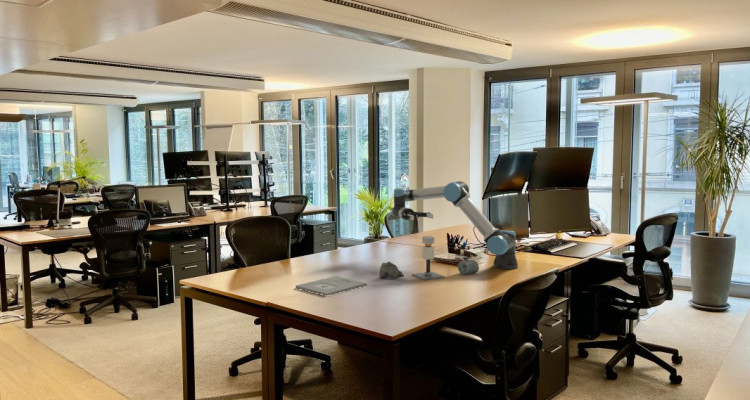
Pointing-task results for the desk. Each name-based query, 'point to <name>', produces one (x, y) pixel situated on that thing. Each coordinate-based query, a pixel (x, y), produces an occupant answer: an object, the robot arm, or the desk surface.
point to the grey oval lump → (468, 267)
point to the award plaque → (331, 285)
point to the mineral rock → (389, 271)
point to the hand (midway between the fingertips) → (423, 217)
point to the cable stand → (428, 263)
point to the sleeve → (428, 252)
